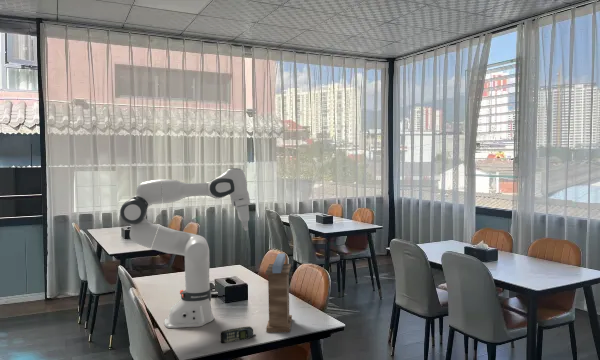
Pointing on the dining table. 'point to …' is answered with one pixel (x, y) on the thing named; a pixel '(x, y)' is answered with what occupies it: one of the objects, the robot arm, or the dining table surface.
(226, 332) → the mobile phone
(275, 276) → the pedestal
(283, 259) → the batten
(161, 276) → the dining table surface
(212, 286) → the graphics card
